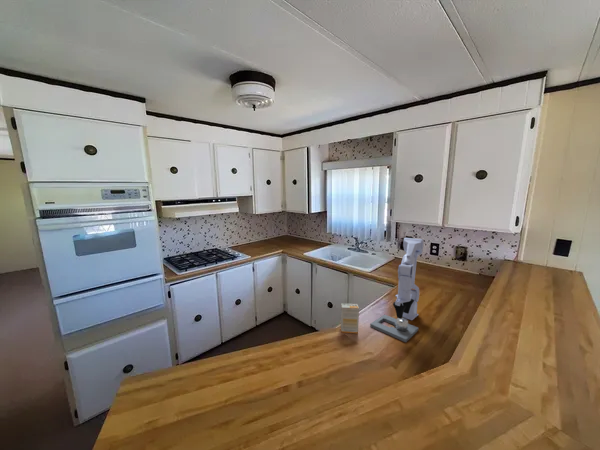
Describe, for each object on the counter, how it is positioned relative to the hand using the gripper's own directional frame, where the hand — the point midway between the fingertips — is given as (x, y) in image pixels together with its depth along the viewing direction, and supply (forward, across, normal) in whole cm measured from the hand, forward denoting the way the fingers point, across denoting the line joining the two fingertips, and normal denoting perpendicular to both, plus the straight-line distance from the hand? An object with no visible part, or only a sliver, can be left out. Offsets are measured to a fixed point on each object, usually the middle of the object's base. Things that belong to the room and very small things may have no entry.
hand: (402, 315), depth 114 cm
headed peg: (+8, 0, 0) cm, 9 cm away
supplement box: (+9, +19, -18) cm, 28 cm away
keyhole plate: (+8, 0, -4) cm, 9 cm away
